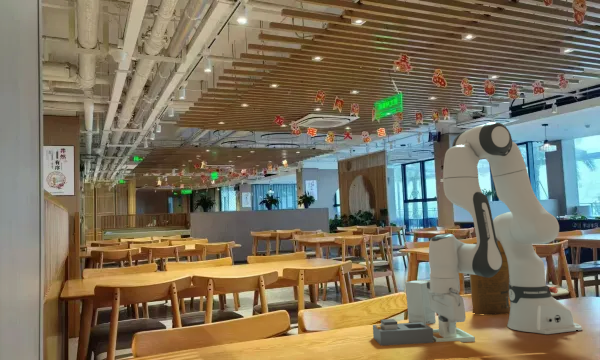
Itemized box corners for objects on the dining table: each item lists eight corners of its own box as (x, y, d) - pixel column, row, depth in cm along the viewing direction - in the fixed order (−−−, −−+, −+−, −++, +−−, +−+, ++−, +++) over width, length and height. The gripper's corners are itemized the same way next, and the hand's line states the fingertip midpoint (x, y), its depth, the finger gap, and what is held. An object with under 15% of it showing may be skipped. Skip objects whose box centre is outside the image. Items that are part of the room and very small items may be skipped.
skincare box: (436, 323, 170) (433, 281, 171) (424, 326, 166) (422, 283, 167) (418, 319, 176) (416, 279, 178) (406, 322, 173) (404, 281, 174)
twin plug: (394, 338, 146) (393, 319, 147) (398, 342, 142) (397, 321, 143) (381, 339, 146) (380, 319, 146) (385, 342, 142) (384, 322, 142)
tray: (458, 333, 154) (457, 327, 154) (475, 343, 142) (474, 336, 142) (422, 335, 153) (422, 329, 153) (436, 345, 141) (436, 339, 141)
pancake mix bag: (521, 313, 181) (516, 240, 184) (475, 316, 178) (470, 242, 181) (510, 310, 188) (506, 239, 190) (466, 313, 185) (461, 241, 187)
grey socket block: (423, 338, 149) (422, 320, 150) (433, 345, 140) (432, 326, 141) (373, 341, 148) (372, 322, 148) (381, 348, 139) (380, 329, 139)
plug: (451, 335, 150) (450, 316, 150) (456, 338, 146) (455, 318, 146) (439, 336, 149) (438, 316, 150) (444, 339, 145) (443, 319, 146)
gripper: (469, 290, 139) (472, 338, 138) (442, 281, 159) (444, 323, 158) (448, 291, 138) (451, 339, 137) (424, 282, 159) (426, 324, 157)
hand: (447, 331), depth 148 cm, fingers closed on plug, 4 cm apart
